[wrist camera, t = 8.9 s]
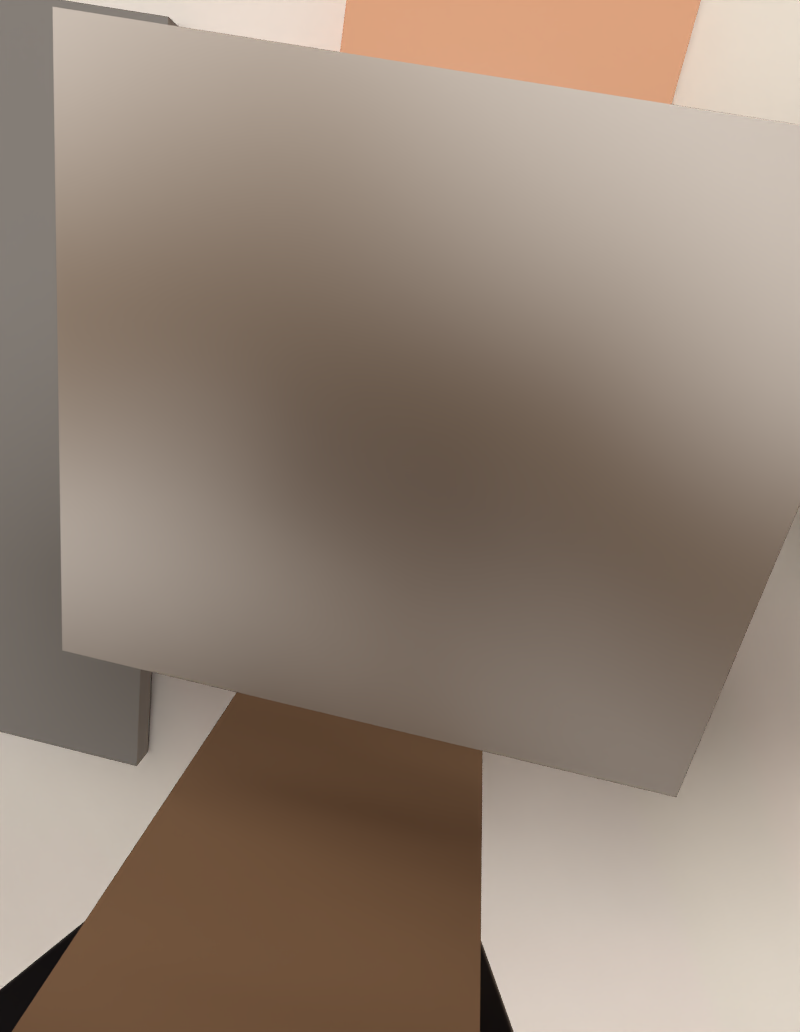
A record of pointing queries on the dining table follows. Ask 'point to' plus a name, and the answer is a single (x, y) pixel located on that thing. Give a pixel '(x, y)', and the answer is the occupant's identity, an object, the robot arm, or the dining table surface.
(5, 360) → the mat
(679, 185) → the turner
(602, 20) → the tile
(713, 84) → the dining table surface
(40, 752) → the dining table surface
